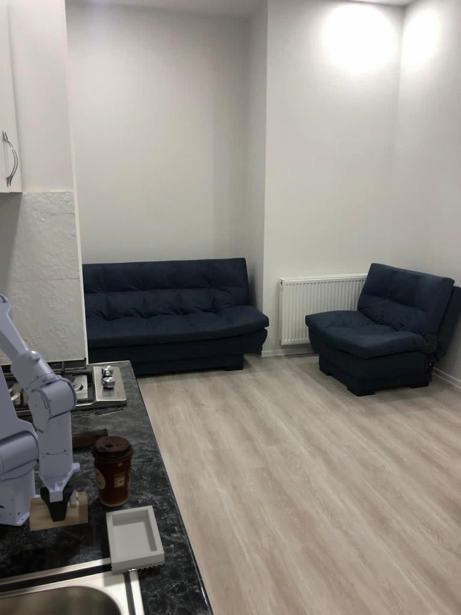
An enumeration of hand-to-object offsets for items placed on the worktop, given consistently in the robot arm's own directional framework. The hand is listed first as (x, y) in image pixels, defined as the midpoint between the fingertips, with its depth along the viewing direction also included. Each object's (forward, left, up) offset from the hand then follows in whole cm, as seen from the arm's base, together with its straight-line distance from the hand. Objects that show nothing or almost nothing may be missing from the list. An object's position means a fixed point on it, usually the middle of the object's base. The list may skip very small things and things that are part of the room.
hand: (59, 512), depth 94 cm
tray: (+1, -14, -6) cm, 15 cm away
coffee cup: (+14, -5, -6) cm, 16 cm away
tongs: (0, 0, -2) cm, 2 cm away
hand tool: (+31, +13, -6) cm, 34 cm away
